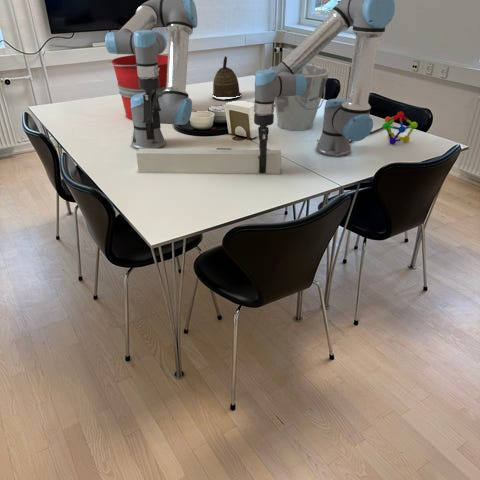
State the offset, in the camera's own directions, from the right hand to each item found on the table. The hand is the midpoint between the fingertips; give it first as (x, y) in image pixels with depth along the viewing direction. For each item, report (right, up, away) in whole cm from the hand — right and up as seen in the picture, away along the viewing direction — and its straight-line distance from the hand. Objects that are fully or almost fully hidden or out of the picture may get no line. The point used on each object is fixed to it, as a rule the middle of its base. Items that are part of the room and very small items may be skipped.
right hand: (262, 169), depth 181 cm
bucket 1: (-60, +42, +67) cm, 99 cm away
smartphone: (-16, +8, +14) cm, 23 cm away
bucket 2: (+20, +32, +52) cm, 64 cm away
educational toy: (+65, +17, +30) cm, 74 cm away
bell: (-18, +62, +100) cm, 119 cm away
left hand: (-43, +13, -7) cm, 45 cm away
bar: (-21, 0, +1) cm, 22 cm away
